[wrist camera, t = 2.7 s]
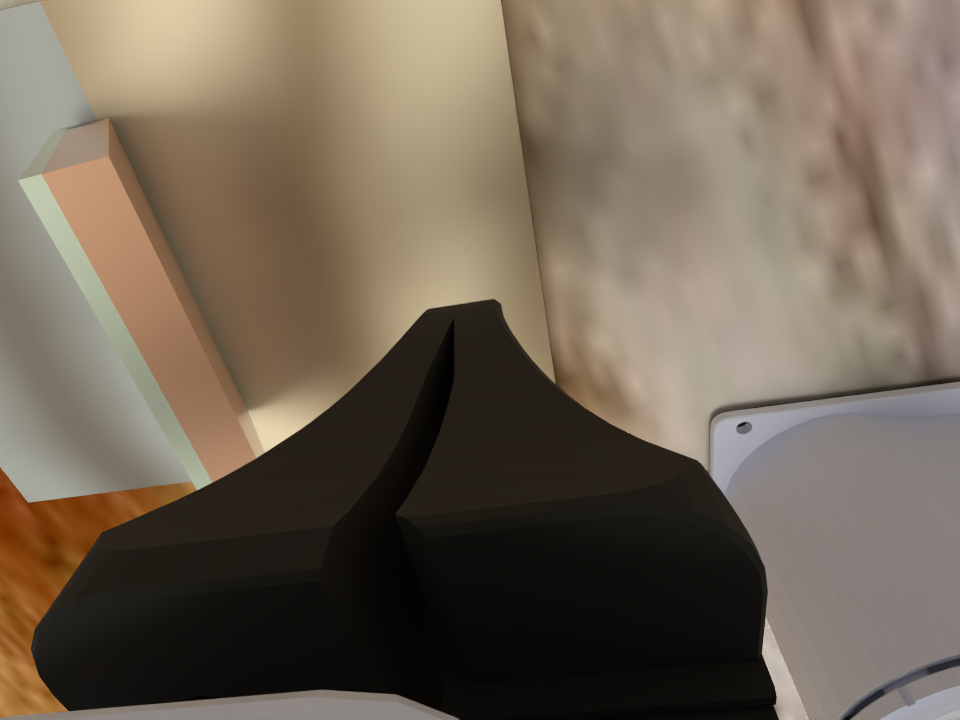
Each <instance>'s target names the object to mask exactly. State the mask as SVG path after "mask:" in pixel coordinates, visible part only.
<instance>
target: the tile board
mask: <svg viewBox="0 0 960 720" xmlns="http://www.w3.org/2000/svg"><path fill="white" fill-rule="evenodd" d="M106 118H109V120H110V122H111V124H112V126H113V128H114V130H115V132H116V134H117V136H118V138H119V141H120V143H121V145H122V147H123V149H124V151H125V153H126V155H127V157H128V160H129V162H130V164H131V166H132V168H133V170H134V172H135V174H136V176H137V178H138V181H139V183H140V185H141V187H142V189H143V191H144V193H145V195H146V197H147V200H148V202H149V204H150V206H151V208H152V210H153V212H154V214H155V216H156V218H157V221H158V223H159V225H160V227H161V229H162V231H163V233H164V235H165V237H166V240H167V242H168V244H169V246H170V248H171V250H172V252H173V254H174V256H175V259H176V261H177V263H178V265H179V267H180V269H181V271H182V273H183V275H184V277H185V280H186V282H187V284H188V286H189V288H190V290H191V292H192V294H193V296H194V299H195V301H196V303H197V305H198V307H199V309H200V311H201V313H202V315H203V317H204V320H205V322H206V324H207V326H208V328H209V330H210V332H211V334H212V336H213V339H214V341H215V343H216V345H217V347H218V349H219V351H220V353H221V355H222V357H223V360H224V362H225V364H226V366H227V368H228V370H229V372H230V374H231V376H232V379H233V381H234V383H235V385H236V387H237V389H238V391H239V393H240V395H241V398H242V400H243V402H244V404H245V406H246V408H247V410H248V412H249V414H250V416H251V419H252V421H253V424H254V426H255V429H256V431H257V434H258V437H259V439H260V442H261V444H262V447H263V449H264V452H267V451H268V450H270V449H271V448H273V447H274V446H276V445H277V444H279V443H281V442H282V441H284V440H285V439H287V438H288V437H290V436H291V435H293V434H294V433H296V432H297V431H299V430H301V429H302V428H303V427H305V426H306V425H307V424H309V423H310V422H311V421H313V420H314V419H315V418H317V417H318V416H319V415H320V414H322V413H323V412H324V411H326V410H327V409H328V408H330V407H331V406H332V405H333V404H334V403H336V402H337V401H338V400H339V399H340V398H341V397H343V396H344V395H345V394H346V393H347V392H348V391H349V390H350V389H352V388H353V387H354V386H355V385H356V384H357V383H358V382H359V381H360V380H361V379H362V378H363V377H364V376H365V375H366V374H367V373H368V372H369V371H370V370H371V369H372V368H373V367H374V366H375V365H376V364H377V363H378V362H379V361H380V360H381V359H382V358H383V357H384V356H385V355H386V354H387V353H388V352H389V351H390V349H391V348H392V347H393V346H394V345H395V344H396V343H397V342H398V341H399V340H400V338H401V337H402V336H403V335H404V334H405V333H406V332H407V331H408V329H409V328H410V327H411V326H412V325H413V324H414V323H415V321H416V320H417V319H418V318H419V317H420V316H421V315H422V314H423V313H424V312H425V311H426V310H427V309H431V308H437V307H444V306H450V305H457V304H463V303H470V302H476V301H483V300H489V299H495V300H497V301H498V302H499V303H501V305H502V311H503V316H504V318H505V320H506V322H507V324H508V326H509V328H510V330H511V331H512V333H513V335H514V336H515V337H516V339H517V340H518V342H519V343H520V345H521V346H522V347H523V349H524V350H525V351H526V353H527V354H528V355H529V356H530V358H531V359H532V360H533V361H534V362H535V363H536V365H537V366H538V367H539V368H540V369H541V370H542V371H543V372H544V373H545V374H546V375H547V376H548V377H549V378H550V379H551V380H552V381H553V382H554V383H555V377H554V370H553V363H552V356H551V349H550V342H549V335H548V328H547V321H546V314H545V307H544V300H543V293H542V286H541V279H540V272H539V265H538V258H537V251H536V244H535V237H534V230H533V223H532V216H531V209H530V202H529V195H528V188H527V181H526V174H525V167H524V160H523V153H522V146H521V139H520V132H519V125H518V118H517V111H516V104H515V97H514V90H513V83H512V76H511V69H510V62H509V55H508V48H507V41H506V34H505V27H504V20H503V13H502V6H501V0H43V1H39V2H35V3H30V4H26V5H22V6H17V7H13V8H9V9H4V10H0V467H1V469H2V470H3V471H4V472H5V474H6V475H7V476H8V477H9V479H10V480H11V481H12V483H13V484H14V485H15V486H16V488H17V489H18V490H19V491H20V493H21V494H22V495H23V497H24V498H25V499H26V500H27V502H36V501H43V500H51V499H59V498H67V497H74V496H82V495H90V494H98V493H105V492H113V491H121V490H129V489H137V488H144V487H152V486H160V485H168V484H175V483H183V482H191V479H190V477H189V476H188V474H187V472H186V470H185V469H184V467H183V465H182V463H181V462H180V460H179V458H178V457H177V455H176V453H175V451H174V450H173V448H172V446H171V444H170V443H169V441H168V439H167V438H166V436H165V434H164V432H163V431H162V429H161V427H160V425H159V424H158V422H157V420H156V418H155V417H154V415H153V413H152V412H151V410H150V408H149V406H148V405H147V403H146V401H145V399H144V398H143V396H142V394H141V393H140V391H139V389H138V387H137V386H136V384H135V382H134V380H133V379H132V377H131V375H130V373H129V372H128V370H127V368H126V367H125V365H124V363H123V361H122V360H121V358H120V356H119V354H118V353H117V351H116V349H115V348H114V346H113V344H112V342H111V341H110V339H109V337H108V335H107V334H106V332H105V330H104V328H103V327H102V325H101V323H100V322H99V320H98V318H97V316H96V315H95V313H94V311H93V309H92V308H91V306H90V304H89V303H88V301H87V299H86V297H85V296H84V294H83V292H82V290H81V289H80V287H79V285H78V283H77V282H76V280H75V278H74V277H73V275H72V273H71V271H70V270H69V268H68V266H67V264H66V263H65V261H64V259H63V258H62V256H61V254H60V252H59V251H58V249H57V247H56V245H55V244H54V242H53V240H52V238H51V237H50V235H49V233H48V232H47V230H46V228H45V226H44V225H43V223H42V221H41V219H40V218H39V216H38V214H37V213H36V211H35V209H34V207H33V206H32V204H31V202H30V200H29V199H28V197H27V195H26V193H25V192H24V190H23V188H22V187H21V185H20V183H19V181H18V180H19V178H20V177H21V175H22V174H23V173H24V171H25V170H26V169H27V167H28V166H29V164H30V163H31V162H32V160H33V159H34V158H35V156H36V155H37V154H38V152H39V151H40V149H41V148H42V147H43V145H44V144H45V143H46V141H47V140H48V138H49V137H50V136H51V134H52V133H53V132H54V131H58V130H60V129H62V128H65V127H69V126H72V125H76V124H79V123H84V122H88V121H92V120H98V119H106Z"/></svg>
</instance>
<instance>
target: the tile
mask: <svg viewBox="0 0 960 720" xmlns="http://www.w3.org/2000/svg"><path fill="white" fill-rule="evenodd" d="M18 181H19V183H20V185H21V187H22V188H23V190H24V192H25V193H26V195H27V197H28V199H29V200H30V202H31V204H32V206H33V207H34V209H35V211H36V213H37V214H38V216H39V218H40V219H41V221H42V223H43V225H44V226H45V228H46V230H47V232H48V233H49V235H50V237H51V238H52V240H53V242H54V244H55V245H56V247H57V249H58V251H59V252H60V254H61V256H62V258H63V259H64V261H65V263H66V264H67V266H68V268H69V270H70V271H71V273H72V275H73V277H74V278H75V280H76V282H77V283H78V285H79V287H80V289H81V290H82V292H83V294H84V296H85V297H86V299H87V301H88V303H89V304H90V306H91V308H92V309H93V311H94V313H95V315H96V316H97V318H98V320H99V322H100V323H101V325H102V327H103V328H104V330H105V332H106V334H107V335H108V337H109V339H110V341H111V342H112V344H113V346H114V348H115V349H116V351H117V353H118V354H119V356H120V358H121V360H122V361H123V363H124V365H125V367H126V368H127V370H128V372H129V373H130V375H131V377H132V379H133V380H134V382H135V384H136V386H137V387H138V389H139V391H140V393H141V394H142V396H143V398H144V399H145V401H146V403H147V405H148V406H149V408H150V410H151V412H152V413H153V415H154V417H155V418H156V420H157V422H158V424H159V425H160V427H161V429H162V431H163V432H164V434H165V436H166V438H167V439H168V441H169V443H170V444H171V446H172V448H173V450H174V451H175V453H176V455H177V457H178V458H179V460H180V462H181V463H182V465H183V467H184V469H185V470H186V472H187V474H188V476H189V477H190V479H191V481H192V483H193V484H194V486H195V488H196V489H197V490H199V489H201V488H203V487H205V486H207V485H209V484H210V483H212V482H214V481H216V480H218V479H220V478H222V477H224V476H226V475H228V474H229V473H231V472H233V471H235V470H237V469H238V468H240V467H242V466H244V465H245V464H247V463H249V462H251V461H252V460H254V459H256V458H258V457H259V456H261V455H262V454H264V453H265V452H264V449H263V447H262V444H261V442H260V439H259V437H258V434H257V431H256V429H255V426H254V424H253V421H252V419H251V416H250V414H249V412H248V410H247V408H246V406H245V404H244V402H243V400H242V398H241V395H240V393H239V391H238V389H237V387H236V385H235V383H234V381H233V379H232V376H231V374H230V372H229V370H228V368H227V366H226V364H225V362H224V360H223V357H222V355H221V353H220V351H219V349H218V347H217V345H216V343H215V341H214V339H213V336H212V334H211V332H210V330H209V328H208V326H207V324H206V322H205V320H204V317H203V315H202V313H201V311H200V309H199V307H198V305H197V303H196V301H195V299H194V296H193V294H192V292H191V290H190V288H189V286H188V284H187V282H186V280H185V277H184V275H183V273H182V271H181V269H180V267H179V265H178V263H177V261H176V259H175V256H174V254H173V252H172V250H171V248H170V246H169V244H168V242H167V240H166V237H165V235H164V233H163V231H162V229H161V227H160V225H159V223H158V221H157V218H156V216H155V214H154V212H153V210H152V208H151V206H150V204H149V202H148V200H147V197H146V195H145V193H144V191H143V189H142V187H141V185H140V183H139V181H138V178H137V176H136V174H135V172H134V170H133V168H132V166H131V164H130V162H129V160H128V157H127V155H126V153H125V151H124V149H123V147H122V145H121V143H120V141H119V138H118V136H117V134H116V132H115V130H114V128H113V126H112V124H111V122H110V120H109V118H106V119H98V120H92V121H88V122H84V123H79V124H76V125H72V126H69V127H65V128H62V129H60V130H58V131H54V132H53V133H52V134H51V136H50V137H49V138H48V140H47V141H46V143H45V144H44V145H43V147H42V148H41V149H40V151H39V152H38V154H37V155H36V156H35V158H34V159H33V160H32V162H31V163H30V164H29V166H28V167H27V169H26V170H25V171H24V173H23V174H22V175H21V177H20V178H19V180H18Z"/></svg>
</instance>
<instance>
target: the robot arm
mask: <svg viewBox="0 0 960 720" xmlns="http://www.w3.org/2000/svg"><path fill="white" fill-rule="evenodd" d="M742 422H747V423H746V424H745V425H744V426H741V427H737V426H738V425H739V424H740V423H742ZM765 616H766V617H767V620H768V622H769V624H770V627H771V629H772V632H773V634H774V636H775V639H776V641H777V643H778V646H779V648H780V651H781V653H782V655H783V658H784V660H785V662H786V665H787V667H788V669H789V672H790V674H791V677H792V679H793V681H794V684H795V686H796V688H797V691H798V693H799V696H800V698H801V700H802V703H803V705H804V707H805V710H806V712H807V715H808V717H809V719H810V720H960V382H954V383H946V384H938V385H931V386H923V387H915V388H907V389H900V390H892V391H884V392H876V393H869V394H861V395H853V396H845V397H838V398H830V399H822V400H814V401H807V402H799V403H791V404H783V405H776V406H768V407H760V408H752V409H745V410H737V411H729V412H724V413H720V414H719V415H717V416H715V417H714V419H713V420H712V422H711V425H710V475H709V473H708V472H707V471H706V470H705V468H704V467H703V466H702V464H700V463H699V462H698V461H697V460H694V459H692V458H689V457H686V456H684V455H681V454H678V453H676V452H673V451H670V450H668V449H665V448H662V447H660V446H657V445H654V444H652V443H649V442H646V441H644V440H642V439H639V438H637V437H635V436H633V435H631V434H629V433H627V432H625V431H623V430H621V429H619V428H617V427H615V426H613V425H611V424H609V423H608V422H606V421H604V420H603V419H601V418H600V417H598V416H597V415H595V414H593V413H592V412H590V411H589V410H587V409H585V408H584V407H583V406H581V405H580V404H579V403H578V402H576V401H575V400H574V399H572V398H571V397H570V396H568V395H567V394H566V393H565V392H564V391H563V390H562V389H560V388H559V387H558V386H557V385H556V384H555V383H554V382H553V381H552V380H551V379H550V378H549V377H548V376H547V375H546V374H545V373H544V372H543V371H542V370H541V369H540V368H539V367H538V366H537V365H536V363H535V362H534V361H533V360H532V359H531V358H530V356H529V355H528V354H527V353H526V351H525V350H524V349H523V347H522V346H521V345H520V343H519V342H518V340H517V339H516V337H515V336H514V335H513V333H512V331H511V330H510V328H509V326H508V324H507V322H506V320H505V318H504V316H503V311H502V305H501V303H499V302H498V301H497V300H495V299H489V300H483V301H476V302H470V303H463V304H457V305H450V306H444V307H437V308H431V309H427V310H426V311H425V312H424V313H423V314H422V315H421V316H420V317H419V318H418V319H417V320H416V321H415V323H414V324H413V325H412V326H411V327H410V328H409V329H408V331H407V332H406V333H405V334H404V335H403V336H402V337H401V338H400V340H399V341H398V342H397V343H396V344H395V345H394V346H393V347H392V348H391V349H390V351H389V352H388V353H387V354H386V355H385V356H384V357H383V358H382V359H381V360H380V361H379V362H378V363H377V364H376V365H375V366H374V367H373V368H372V369H371V370H370V371H369V372H368V373H367V374H366V375H365V376H364V377H363V378H362V379H361V380H360V381H359V382H358V383H357V384H356V385H355V386H354V387H353V388H352V389H350V390H349V391H348V392H347V393H346V394H345V395H344V396H343V397H341V398H340V399H339V400H338V401H337V402H336V403H334V404H333V405H332V406H331V407H330V408H328V409H327V410H326V411H324V412H323V413H322V414H320V415H319V416H318V417H317V418H315V419H314V420H313V421H311V422H310V423H309V424H307V425H306V426H305V427H303V428H302V429H301V430H299V431H297V432H296V433H294V434H293V435H291V436H290V437H288V438H287V439H285V440H284V441H282V442H281V443H279V444H277V445H276V446H274V447H273V448H271V449H270V450H268V451H267V452H265V453H264V454H262V455H261V456H259V457H258V458H256V459H254V460H252V461H251V462H249V463H247V464H245V465H244V466H242V467H240V468H238V469H237V470H235V471H233V472H231V473H229V474H228V475H226V476H224V477H222V478H220V479H218V480H216V481H214V482H212V483H210V484H209V485H207V486H205V487H203V488H201V489H199V490H197V491H195V492H193V493H191V494H189V495H187V496H185V497H182V498H180V499H178V500H176V501H174V502H172V503H169V504H167V505H165V506H162V507H160V508H158V509H156V510H153V511H151V512H149V513H146V514H144V515H142V516H140V517H137V518H135V519H133V520H131V521H128V522H126V523H124V524H121V525H119V526H117V527H114V528H112V529H109V530H107V531H104V532H102V533H101V535H100V536H99V538H98V539H97V541H96V542H95V544H94V545H93V546H92V548H91V549H90V551H89V552H88V554H87V555H86V557H85V558H84V559H83V561H82V562H81V564H80V565H79V567H78V568H77V569H76V571H75V572H74V574H73V575H72V577H71V578H70V580H69V581H68V582H67V584H66V585H65V587H64V588H63V590H62V591H61V592H60V594H59V595H58V597H57V598H56V600H55V601H54V603H53V604H52V605H51V607H50V608H49V610H48V611H47V613H46V614H45V615H44V617H43V618H42V620H41V621H40V623H39V624H38V626H37V627H36V628H35V632H34V636H33V641H32V646H31V651H32V654H33V658H34V661H35V665H36V668H37V671H38V674H39V676H40V678H41V679H42V681H43V682H44V683H45V685H46V686H47V687H48V689H49V690H50V691H51V693H52V694H53V695H54V696H55V697H56V698H57V699H58V701H59V702H60V703H61V704H62V705H63V706H64V707H65V708H66V709H67V710H68V711H67V712H56V713H44V714H32V715H21V716H9V717H4V718H0V720H779V719H778V716H777V713H776V711H775V708H774V706H773V705H776V698H777V696H776V692H775V687H774V684H773V681H772V679H771V676H770V674H769V671H768V669H767V666H766V664H765V661H764V658H763V656H762V646H763V636H764V626H765Z"/></svg>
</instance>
